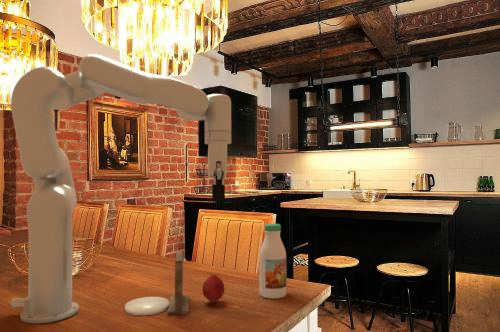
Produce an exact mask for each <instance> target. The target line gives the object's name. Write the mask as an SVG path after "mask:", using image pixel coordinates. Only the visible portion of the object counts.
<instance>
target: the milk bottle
mask: <svg viewBox="0 0 500 332" xmlns="http://www.w3.org/2000/svg"><path fill="white" fill-rule="evenodd" d="M281 229H282V226H281V224H280V223H266V224H264V232H265V236H264V239H263V242H262V244H261V247H260V250H259V257H258V258H259V261H258V262H259V264H258V265H259V266H258V267H259V269H258V273H259V274H258V275H259V276H258V277H259V278H258V281H259V282H258V283H259V285H258V287H259V289H258V290H259V292H258V293H259V296H261V297H262V298H265V299H270V300H271V299H275V300H276V299H281V298H282V299H283V298H285V297H286V295H287V253H286V248H285V245H284V243H283V241H282V239H281Z"/></svg>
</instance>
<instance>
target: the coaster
mask: <svg viewBox="0 0 500 332" xmlns="http://www.w3.org/2000/svg"><path fill="white" fill-rule="evenodd" d="M169 303H170V299H168V298H166V297H162V296H145V297H140V298H135V299H132V300H129V301H128V302H127V303H125V305H124V312H125V313H126V314H128V315H133V316H142V317H144V316H152V315H158V314H161V313H164V312H165V311H168V308H169Z"/></svg>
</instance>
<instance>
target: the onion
mask: <svg viewBox="0 0 500 332" xmlns="http://www.w3.org/2000/svg"><path fill="white" fill-rule="evenodd" d="M224 293H225V284H224V281H223V280H222V279H221V278H220V277H219V276H218V275H216V273H214V272H211V273H210V276H209V277H207V278H206V280H205V281H204V282H203V285H202V294H203V297H204V298H206V299H207V300H208V301H209V302H210V303H211V304H216V302H218V301H219V300H220V299H222V297H223V295H224Z"/></svg>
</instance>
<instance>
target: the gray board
mask: <svg viewBox="0 0 500 332" xmlns="http://www.w3.org/2000/svg"><path fill="white" fill-rule="evenodd" d="M175 254H176V255H175V260H174V295H170V298H169V308H168V309H167V316H173V315H174V316H175V315H189V314H190V313H189V311H190V310H189V309H190V295H189V294H186V295H185V294H184V250H177V251H176V253H175Z"/></svg>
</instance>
